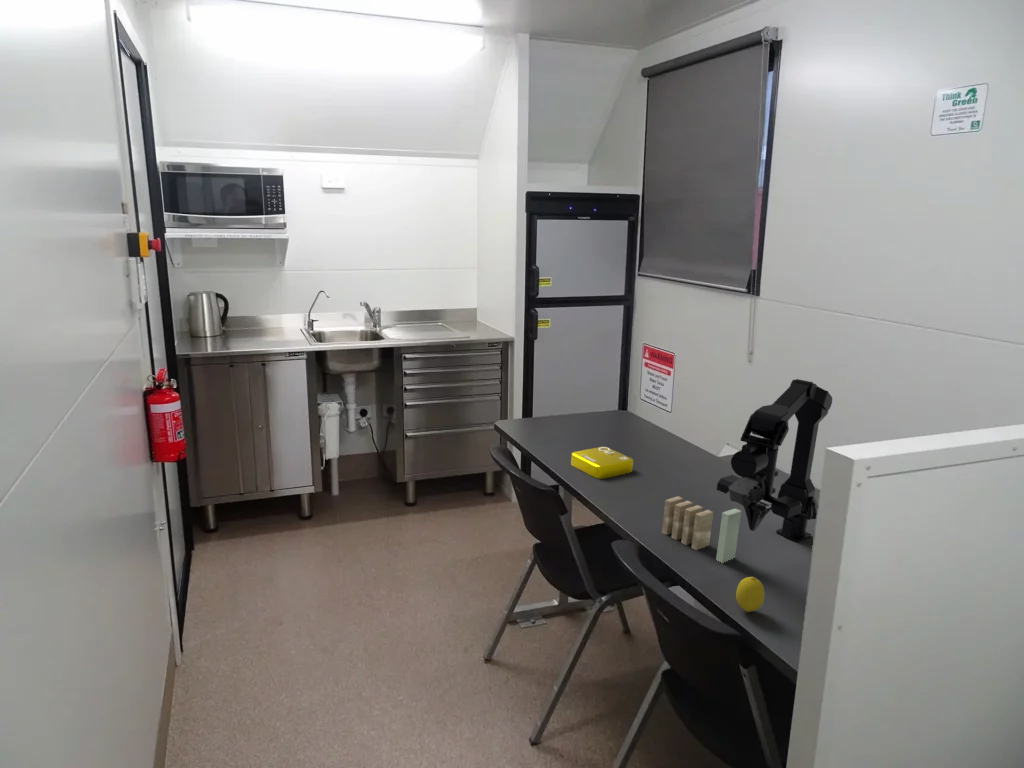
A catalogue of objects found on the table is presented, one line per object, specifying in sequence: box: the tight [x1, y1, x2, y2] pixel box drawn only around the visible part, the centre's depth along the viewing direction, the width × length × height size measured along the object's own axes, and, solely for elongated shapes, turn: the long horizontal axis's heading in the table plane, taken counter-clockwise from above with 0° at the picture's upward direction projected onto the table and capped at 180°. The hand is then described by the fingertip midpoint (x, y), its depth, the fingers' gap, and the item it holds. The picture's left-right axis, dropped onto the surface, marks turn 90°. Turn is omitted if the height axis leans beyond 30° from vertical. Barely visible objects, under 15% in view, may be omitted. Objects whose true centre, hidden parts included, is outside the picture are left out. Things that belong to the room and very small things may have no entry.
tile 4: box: [661, 495, 684, 536], centre depth 181 cm, size 2×5×9 cm, turn 127°
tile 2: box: [680, 504, 704, 546], centre depth 176 cm, size 2×5×9 cm, turn 126°
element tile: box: [570, 446, 634, 480], centre depth 224 cm, size 15×15×5 cm
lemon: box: [735, 576, 766, 613], centre depth 146 cm, size 6×6×8 cm
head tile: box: [715, 508, 742, 564], centre depth 167 cm, size 2×5×12 cm, turn 126°
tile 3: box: [671, 500, 694, 541], centre depth 179 cm, size 2×5×9 cm, turn 126°
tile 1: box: [691, 509, 714, 551], centre depth 174 cm, size 2×5×9 cm, turn 126°
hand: (752, 530), depth 162 cm, fingers closed
